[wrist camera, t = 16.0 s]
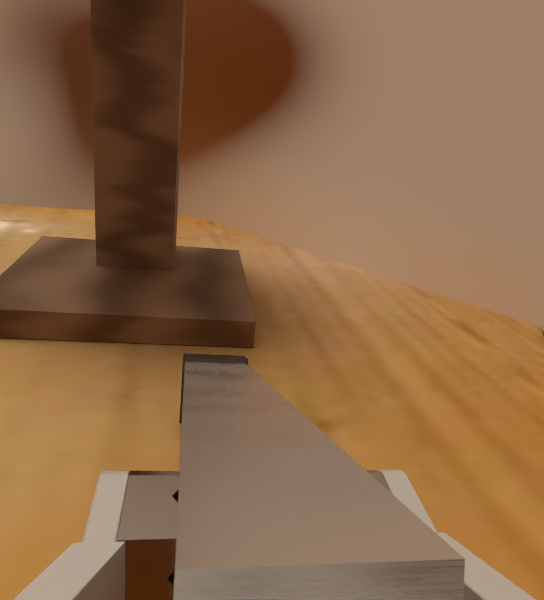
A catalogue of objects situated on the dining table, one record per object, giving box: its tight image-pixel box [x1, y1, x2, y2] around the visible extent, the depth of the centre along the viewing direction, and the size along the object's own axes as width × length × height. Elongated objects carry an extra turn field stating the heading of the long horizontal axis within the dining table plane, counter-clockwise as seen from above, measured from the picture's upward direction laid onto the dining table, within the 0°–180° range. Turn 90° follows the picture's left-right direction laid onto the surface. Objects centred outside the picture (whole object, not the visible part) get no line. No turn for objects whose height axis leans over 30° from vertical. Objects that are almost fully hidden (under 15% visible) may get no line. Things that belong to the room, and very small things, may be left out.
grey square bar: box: [173, 354, 465, 600], centre depth 16 cm, size 3×22×3 cm, turn 8°
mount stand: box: [0, 0, 255, 348], centre depth 35 cm, size 18×16×26 cm
